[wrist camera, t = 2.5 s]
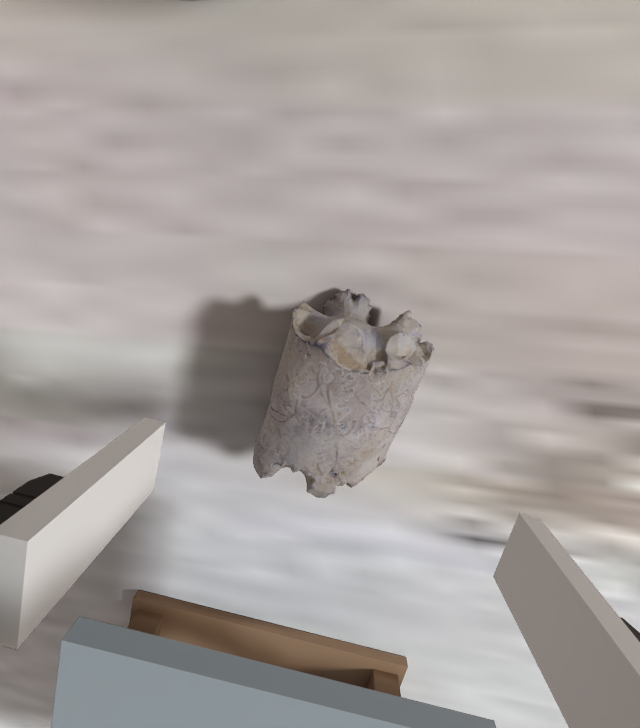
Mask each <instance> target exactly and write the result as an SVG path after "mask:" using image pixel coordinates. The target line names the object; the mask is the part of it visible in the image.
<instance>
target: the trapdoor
mask: <svg viewBox="0 0 640 728" xmlns="http://www.w3.org/2000/svg"><path fill="white" fill-rule="evenodd" d="M51 728H496V725H495V722H494V720H490V719H486V718H482V717H478V716H474V715H470V714H466V713H462V712H458V711H454V710H450V709H446V708H442V707H438V706H434V705H430V704H426V703H422V702H418V701H414V700H410V699H406V698H402V697H398V696H394V695H390V694H387V693H383V692H379V691H375V690H371V689H367V688H363V687H359V686H355V685H351V684H347V683H343V682H339V681H335V680H331V679H327V678H323V677H319V676H315V675H311V674H307V673H303V672H299V671H295V670H291V669H287V668H283V667H279V666H275V665H271V664H267V663H263V662H259V661H255V660H251V659H247V658H243V657H239V656H235V655H231V654H227V653H223V652H219V651H215V650H211V649H207V648H203V647H199V646H196V645H192V644H188V643H184V642H180V641H176V640H172V639H168V638H164V637H160V636H156V635H152V634H148V633H144V632H140V631H136V630H132V629H128V628H124V627H120V626H116V625H112V624H108V623H104V622H100V621H96V620H92V619H88V618H84V617H80V616H79V618H78V619H77V620H76V622H75V623H74V624H73V626H72V627H71V628H70V630H69V631H68V632H67V634H66V635H65V636H64V638H63V639H62V642H61V650H60V658H59V667H58V675H57V683H56V692H55V700H54V708H53V717H52V725H51Z"/></svg>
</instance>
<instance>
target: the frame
mask: <svg viewBox="0 0 640 728" xmlns="http://www.w3.org/2000/svg"><path fill="white" fill-rule="evenodd" d="M128 629H132V630H136V631H140V632H144V633H148V634H152V635H156V636H160V637H164V638H168V639H172V640H176V641H180V642H184V643H188V644H192V645H196V646H199V647H203V648H207V649H211V650H215V651H219V652H223V653H227V654H231V655H235V656H239V657H243V658H247V659H251V660H255V661H259V662H263V663H267V664H271V665H275V666H279V667H283V668H287V669H291V670H295V671H299V672H303V673H307V674H311V675H315V676H319V677H323V678H327V679H331V680H335V681H339V682H343V683H347V684H351V685H355V686H359V687H363V688H367V689H371V690H375V691H379V692H383V693H387V694H390V695H394V696H398V697H401V694H400V686H401V683H402V680H403V678H404V675H405V673H406V670H407V667H408V665H407V659H406V657H403V656H399V655H395V654H391V653H387V652H383V651H379V650H375V649H371V648H367V647H363V646H360V645H356V644H352V643H348V642H344V641H340V640H336V639H332V638H328V637H324V636H320V635H316V634H312V633H308V632H304V631H300V630H296V629H292V628H288V627H284V626H280V625H276V624H272V623H268V622H264V621H260V620H256V619H252V618H248V617H245V616H241V615H237V614H233V613H229V612H225V611H221V610H217V609H213V608H209V607H205V606H201V605H197V604H193V603H189V602H185V601H181V600H177V599H173V598H169V597H165V596H161V595H157V594H153V593H149V592H145V591H141V590H138V592H137V593H136V595H135V597H134V599H133V605H132V611H131V617H130V623H129V626H128Z"/></svg>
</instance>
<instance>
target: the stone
mask: <svg viewBox="0 0 640 728" xmlns="http://www.w3.org/2000/svg"><path fill="white" fill-rule="evenodd" d="M369 302H370V300H369V299H368V298H367V297H366V296H365V295H364V294H358V295H357V296H356V297H355V298H352V296H351V290H350V289H347V290H346V291H340V292H338V293H336V294H335V296H334V299H332V300H329V299H328V300H327V301H326V303H325V304H324V306H323V308H324V315H323V314H321V313H319V312H317V311H316V310H314V309H313V308H312V307H310V306H309V305H308V304H307V303H305V302H304V301H303V302H302V303H301V304H300V306H299V307H298V308H294V309H293V313H292V318H291V324H290V328H289V332H288V337H287V341H286V344H285V346H284V349H283V353H282V357H281V360H280V362H279V365H278V368H277V371H276V374H275V378H274V382H273V386H272V392H271V397H270V402H269V406H268V410H267V413H266V415H265V418H264V421H263V424H262V426H261V429H260V431H259V434H258V437H257V439H256V445H255V449H254V456H253V464H254V468H255V470H256V472H257V474H258V475H259V476H260V478H265V477H272V476H273V475H274V474H275V473H276V472H277V471H278V470H280V469H281V468H284V467H289V468H291V470H292V472H297V471H301V472H303V474H304V475H305V477H306V482H307V492H309V493H311V494H312V495H314V496H316V497H319V498H326V497H327V496H328V495H331V494H334V492H335V489H336V486H343V485H345V484H347V485H348V486H349V487H353V486H355V485H357V484H358V483H359V482H360V481H362V480H363V479H364V478H365V477H366V476H367V475H368V474H369V473H371V472H372V471H373V470H374V469H375V468H376V467H378V466H379V465H381V464H382V463H383V462H384V461H385V459H386V454H387V451H388V449H389V446H390V444H391V443H392V441H393V439H394V437H395V435H396V433H397V431H398V429H399V428H400V426H401V424H402V422H403V421H404V419H405V417H406V415H407V412H408V410H409V408H410V406H411V403H412V400H413V395H414V393H415V391H416V389H417V387H418V385H419V383H420V381H421V379H422V377H423V375H424V373H425V370H426V368H427V366H428V364H429V361H430V358H431V356H432V353H433V351H434V347H433V345H432V344H431V343H429V342H427V341H426V342H423V343H419V342H420V340H421V336H422V335H421V334H420V333H419V329H420V327H421V325H420V324H419V323H418V322H417V321H416V320H414V319H412V318H411V312H410V311H406V312H405V313H403V314H401V315H400V316H399V317H398V318H397V319H396V320H394V321H392V322H391V324H389V325H387V326H384V327H375V326H371V325H369V324H368V321H369V319H370V318H371V315H370V314H369V312H370V311H371V310H372V306H370V305H369Z"/></svg>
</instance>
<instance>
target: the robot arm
mask: <svg viewBox="0 0 640 728" xmlns="http://www.w3.org/2000/svg"><path fill="white" fill-rule="evenodd" d="M165 424H166V422H162V421H158V420H154V419H150V418H146V417H145V418H143V419H142V420H141V421H139V422H138V423H137V424H135V425H134V426H133V427H131V428H130V429H129V430H127V431H126V432H124V433H123V434H122V435H120V436H119V437H118V438H116V439H115V440H114V441H112V442H111V443H110V444H108V445H107V446H106V447H104V448H103V449H102V450H100V451H99V452H98V453H96V454H95V455H94V456H92V457H91V458H89V459H88V460H87V461H85V462H84V463H83V464H81V465H80V466H79V467H77V468H76V469H75V470H73V471H72V472H71V473H69V474H68V475H67V476H65V477H62V476H58V475H54V474H47V475H45V476H42V477H39V478H36V479H33V480H30V481H28V482H27V483H25V484H24V485H22V486H21V487H19V488H18V489H16V490H15V491H14V492H13V494H9V495H8V496H6V497H5V498H3V499H2V500H0V646H3V647H7V648H11V649H15V650H17V649H18V648H19V647H20V646H21V644H22V643H23V642H24V641H25V640H26V639H27V637H28V636H29V635H30V634H31V633H32V632H33V630H34V629H35V628H36V627H37V626H38V625H39V623H40V622H41V621H42V620H43V619H44V618H45V616H46V615H47V614H48V613H49V612H50V611H51V609H52V608H53V607H54V606H55V605H56V604H57V602H58V601H59V600H60V599H61V598H62V597H63V595H64V594H65V593H66V592H67V591H68V590H69V588H70V587H71V586H72V585H73V584H74V583H75V581H76V580H77V579H78V578H79V577H80V576H81V574H82V573H83V572H84V571H85V570H86V569H87V567H88V566H89V565H90V564H91V563H92V562H93V560H94V559H95V558H96V557H97V556H98V555H99V553H100V552H101V551H102V550H103V549H104V548H105V546H106V545H107V544H108V543H109V542H110V541H111V539H112V538H113V537H114V536H115V535H116V534H117V532H118V531H119V530H120V529H121V528H122V527H123V525H124V524H125V523H126V522H127V521H128V520H129V518H130V517H131V516H132V515H133V514H134V513H135V511H136V510H137V509H138V508H139V507H140V506H141V504H142V503H143V502H144V501H145V500H146V499H147V497H148V496H149V495H150V494H151V493H152V492H153V490H154V487H155V481H156V475H157V470H158V464H159V458H160V453H161V447H162V441H163V436H164V430H165ZM493 577H494V579H495V581H496V583H497V585H498V587H499V589H500V591H501V593H502V595H503V597H504V599H505V601H506V603H507V605H508V607H509V609H510V611H511V613H512V615H513V617H514V619H515V621H516V623H517V625H518V627H519V629H520V631H521V633H522V635H523V637H524V639H525V641H526V643H527V645H528V647H529V649H530V651H531V653H532V655H533V657H534V659H535V661H536V663H537V665H538V667H539V669H540V671H541V673H542V675H543V677H544V679H545V681H546V683H547V685H548V687H549V689H550V691H551V693H552V695H553V697H554V699H555V700H556V702H557V704H558V706H559V708H560V710H561V712H562V714H563V716H564V718H565V720H566V722H567V724H568V726H569V728H640V633H639V632H638V631H637V630H636V629H635V628H633V627H632V626H631V625H630V624H629V623H628V622H627V621H625V620H624V619H623V618H620V617H619V616H618V615H617V613H616V612H615V611H614V610H613V608H612V607H611V606H610V605H609V603H608V602H607V601H606V600H605V599H604V597H603V596H602V595H601V594H600V592H599V591H598V590H597V589H596V587H595V586H594V585H593V584H592V582H591V581H590V580H589V579H588V577H587V576H586V575H585V574H584V573H583V571H582V570H581V569H580V568H579V566H578V565H577V564H576V563H575V561H574V560H573V559H572V558H571V556H570V555H569V554H568V553H567V551H566V550H565V549H564V548H563V547H562V545H561V544H560V543H559V542H558V540H557V539H556V538H555V537H554V535H553V534H552V533H551V532H550V530H549V529H548V528H547V527H546V525H545V524H544V523H543V522H542V521H541V519H540V518H536V517H533V516H529V515H525V514H521V513H519V515H518V517H517V520H516V522H515V525H514V527H513V530H512V532H511V534H510V537H509V539H508V542H507V544H506V547H505V549H504V551H503V554H502V556H501V559H500V561H499V564H498V566H497V568H496V571H495V573H494V576H493Z"/></svg>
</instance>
